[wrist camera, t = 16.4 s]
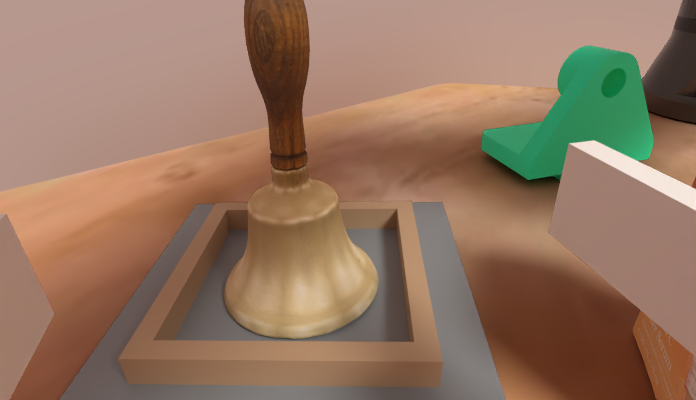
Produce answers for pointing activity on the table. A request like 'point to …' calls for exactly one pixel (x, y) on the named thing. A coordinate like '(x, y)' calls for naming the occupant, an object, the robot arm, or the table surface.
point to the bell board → (305, 353)
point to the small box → (665, 360)
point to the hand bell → (293, 204)
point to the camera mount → (580, 116)
